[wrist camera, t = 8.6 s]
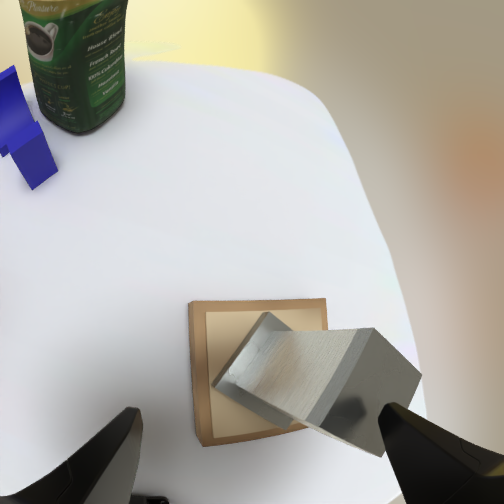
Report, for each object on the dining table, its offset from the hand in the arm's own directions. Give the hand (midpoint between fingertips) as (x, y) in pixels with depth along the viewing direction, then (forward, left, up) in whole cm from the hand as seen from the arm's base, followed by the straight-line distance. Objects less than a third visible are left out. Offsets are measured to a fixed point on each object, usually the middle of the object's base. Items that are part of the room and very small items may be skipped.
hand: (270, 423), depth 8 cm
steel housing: (0, -5, -11) cm, 12 cm away
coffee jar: (+25, +13, -14) cm, 31 cm away
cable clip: (+19, +19, -14) cm, 30 cm away
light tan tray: (0, -5, -13) cm, 14 cm away
